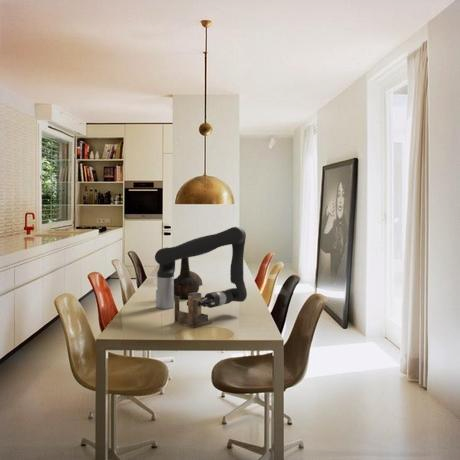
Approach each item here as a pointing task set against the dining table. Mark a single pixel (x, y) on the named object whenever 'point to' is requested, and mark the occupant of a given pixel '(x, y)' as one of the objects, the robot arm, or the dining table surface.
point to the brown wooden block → (190, 302)
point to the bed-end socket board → (190, 316)
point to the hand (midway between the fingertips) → (190, 304)
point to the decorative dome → (196, 277)
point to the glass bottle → (185, 281)
